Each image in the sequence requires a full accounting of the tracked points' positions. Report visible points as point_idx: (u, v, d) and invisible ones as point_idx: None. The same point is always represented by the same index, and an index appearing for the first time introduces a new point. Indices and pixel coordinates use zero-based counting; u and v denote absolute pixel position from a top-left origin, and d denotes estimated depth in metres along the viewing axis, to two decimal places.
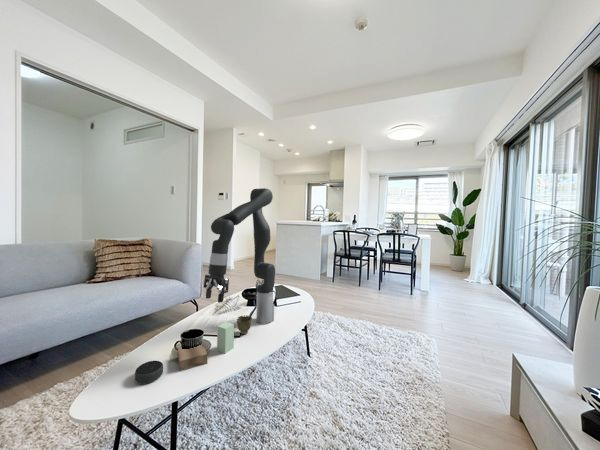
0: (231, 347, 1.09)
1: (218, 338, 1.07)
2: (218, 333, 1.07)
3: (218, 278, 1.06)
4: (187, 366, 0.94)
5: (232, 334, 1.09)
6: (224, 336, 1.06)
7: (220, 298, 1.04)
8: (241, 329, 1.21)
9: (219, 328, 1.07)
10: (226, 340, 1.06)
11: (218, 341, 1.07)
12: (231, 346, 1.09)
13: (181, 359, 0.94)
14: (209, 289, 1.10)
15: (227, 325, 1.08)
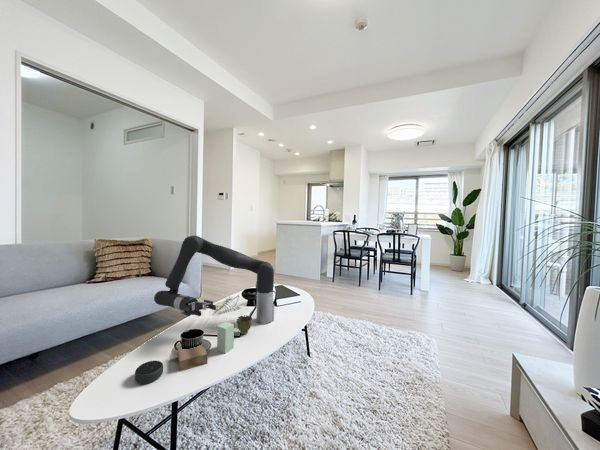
0: (231, 347, 1.09)
1: (218, 338, 1.07)
2: (218, 333, 1.07)
3: None
4: (187, 366, 0.94)
5: (232, 334, 1.09)
6: (224, 336, 1.06)
7: (196, 314, 1.10)
8: (241, 329, 1.21)
9: (219, 328, 1.07)
10: (226, 340, 1.06)
11: (218, 341, 1.07)
12: (231, 346, 1.09)
13: (181, 359, 0.94)
14: (209, 306, 1.19)
15: (227, 325, 1.08)
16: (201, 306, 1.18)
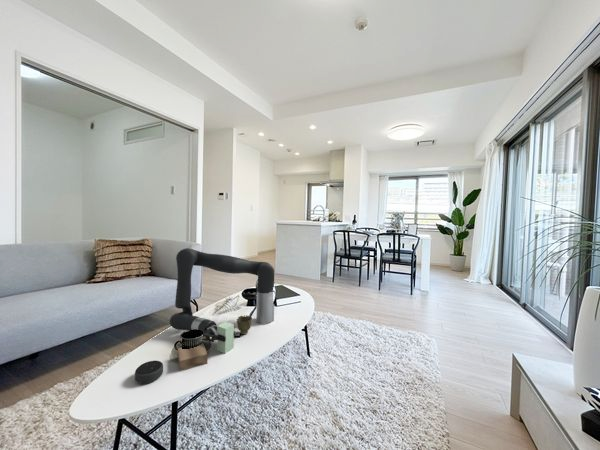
0: (231, 347, 1.09)
1: None
2: (218, 333, 1.07)
3: None
4: (187, 366, 0.94)
5: (232, 334, 1.09)
6: None
7: None
8: (241, 329, 1.21)
9: (219, 328, 1.07)
10: (226, 340, 1.06)
11: (218, 341, 1.07)
12: (231, 346, 1.09)
13: (181, 359, 0.94)
14: None
15: (227, 325, 1.08)
16: None
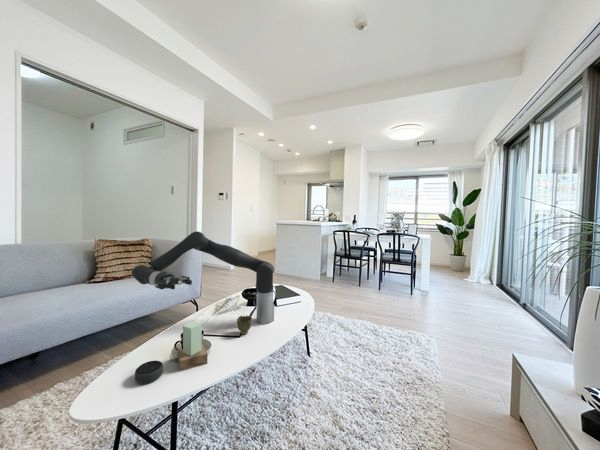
0: (198, 349, 1.00)
1: (184, 339, 0.98)
2: (184, 333, 0.98)
3: None
4: (187, 366, 0.94)
5: (200, 334, 1.00)
6: (190, 337, 0.96)
7: (170, 288, 1.07)
8: (241, 329, 1.21)
9: (185, 328, 0.98)
10: (192, 341, 0.97)
11: (184, 342, 0.98)
12: (198, 348, 1.00)
13: (181, 359, 0.94)
14: (185, 281, 1.16)
15: (194, 325, 0.99)
16: (176, 281, 1.15)
